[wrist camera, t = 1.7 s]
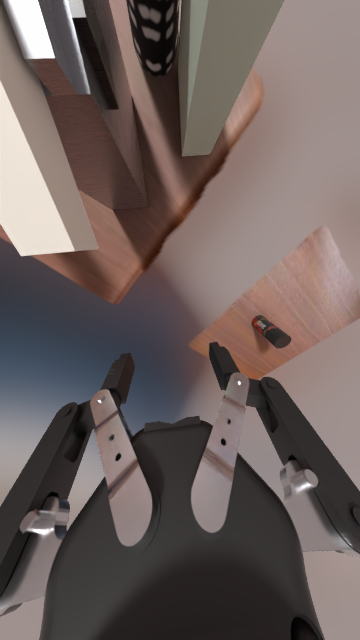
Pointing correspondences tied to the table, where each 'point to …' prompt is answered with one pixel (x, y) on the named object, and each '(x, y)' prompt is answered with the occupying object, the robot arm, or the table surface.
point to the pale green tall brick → (216, 63)
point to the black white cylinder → (154, 33)
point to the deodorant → (271, 332)
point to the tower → (85, 93)
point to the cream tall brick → (34, 163)
